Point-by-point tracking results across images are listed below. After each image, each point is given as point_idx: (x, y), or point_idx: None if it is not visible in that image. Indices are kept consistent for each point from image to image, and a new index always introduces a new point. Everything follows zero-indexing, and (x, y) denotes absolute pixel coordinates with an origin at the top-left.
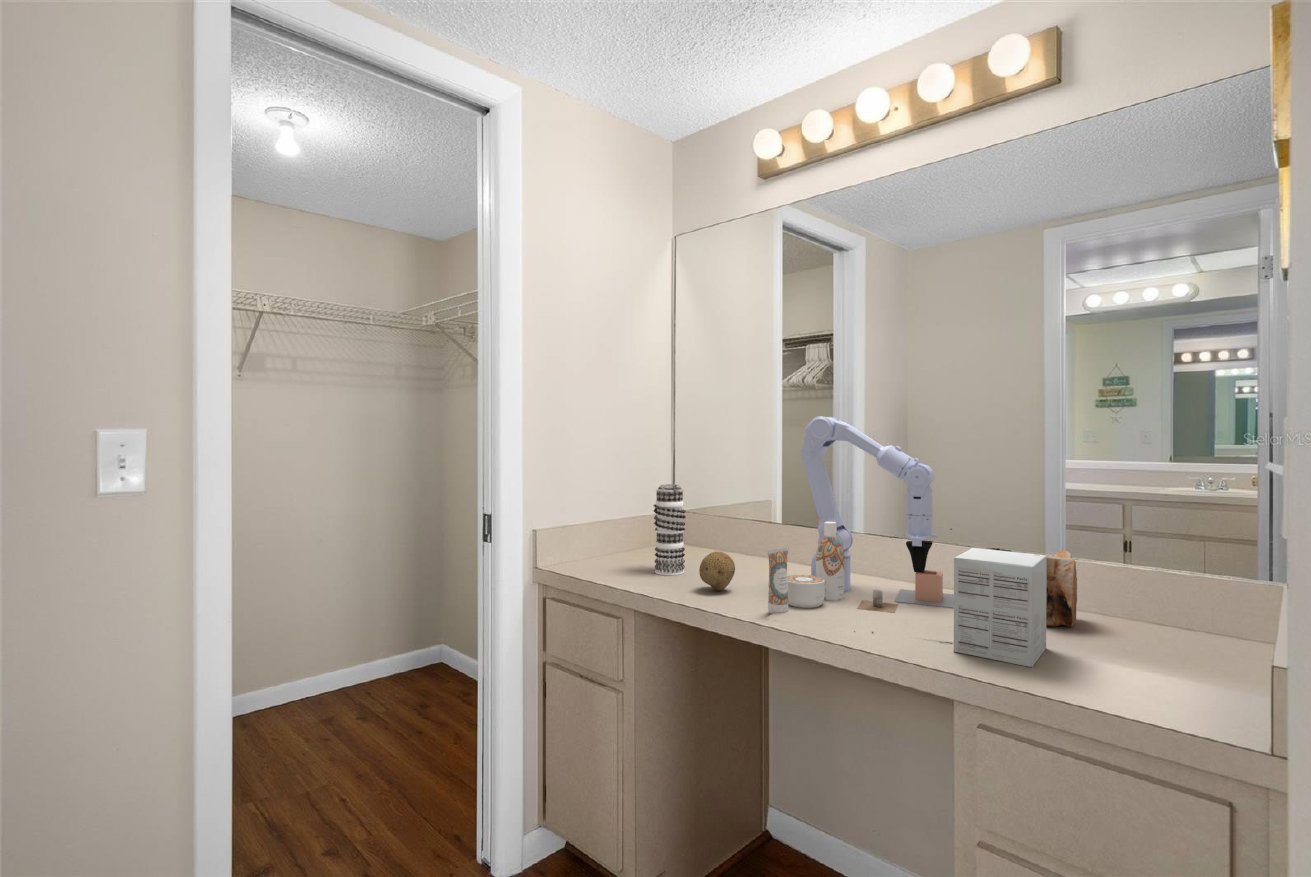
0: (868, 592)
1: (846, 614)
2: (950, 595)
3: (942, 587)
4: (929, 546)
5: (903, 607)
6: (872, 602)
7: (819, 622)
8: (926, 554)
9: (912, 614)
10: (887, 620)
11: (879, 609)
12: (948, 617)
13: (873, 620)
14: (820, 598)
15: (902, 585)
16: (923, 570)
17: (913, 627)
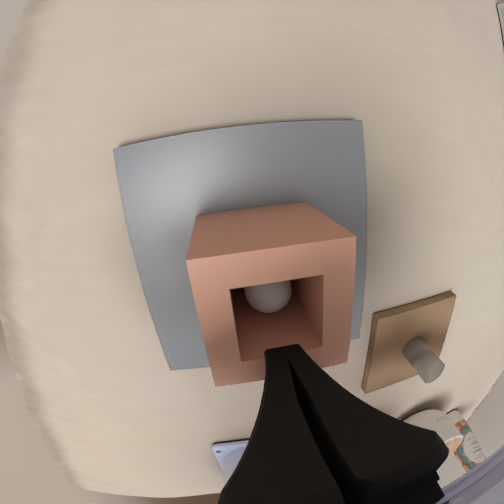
0: (224, 418)
1: (445, 365)
2: (150, 191)
3: (213, 225)
4: (445, 444)
5: (363, 304)
6: (380, 371)
7: (482, 364)
8: (378, 413)
9: (425, 260)
10: (473, 291)
11: (436, 332)
12: (421, 160)
13: (475, 312)
14: (441, 416)
15: (67, 368)
16: (305, 352)
17: (500, 231)
